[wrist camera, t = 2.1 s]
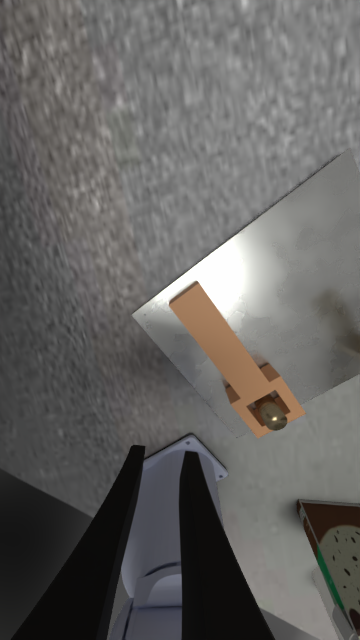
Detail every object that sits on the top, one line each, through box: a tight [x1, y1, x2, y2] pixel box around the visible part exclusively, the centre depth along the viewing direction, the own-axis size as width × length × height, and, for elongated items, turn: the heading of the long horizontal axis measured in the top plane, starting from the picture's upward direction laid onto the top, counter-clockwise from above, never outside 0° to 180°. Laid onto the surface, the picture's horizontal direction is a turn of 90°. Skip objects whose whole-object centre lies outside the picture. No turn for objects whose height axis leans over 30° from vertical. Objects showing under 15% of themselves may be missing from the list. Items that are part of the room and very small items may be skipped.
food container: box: [297, 499, 360, 640], centre depth 21 cm, size 12×6×10 cm, turn 84°
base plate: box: [132, 148, 360, 438], centre depth 15 cm, size 20×18×4 cm
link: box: [169, 281, 306, 438], centre depth 16 cm, size 16×5×2 cm, turn 37°
